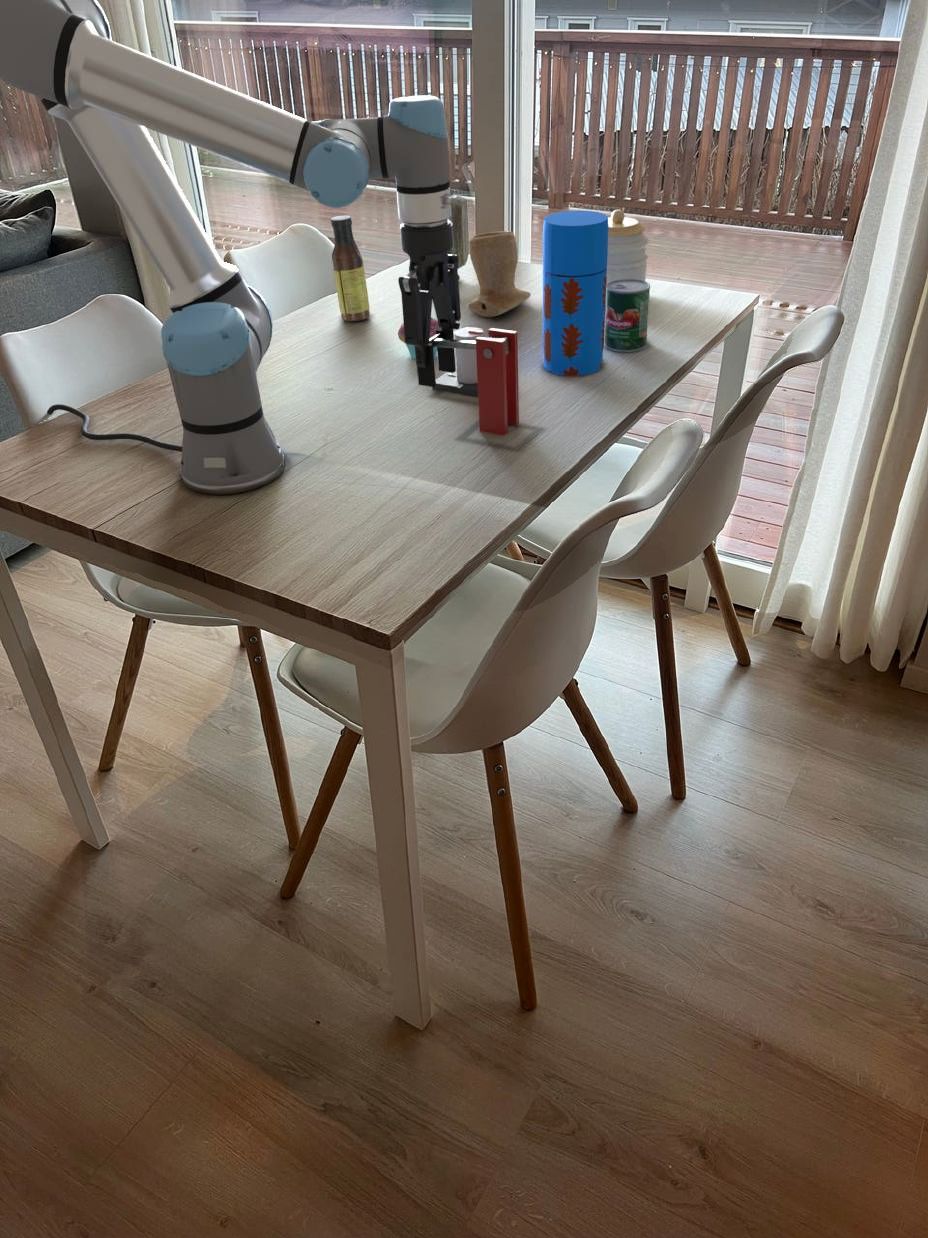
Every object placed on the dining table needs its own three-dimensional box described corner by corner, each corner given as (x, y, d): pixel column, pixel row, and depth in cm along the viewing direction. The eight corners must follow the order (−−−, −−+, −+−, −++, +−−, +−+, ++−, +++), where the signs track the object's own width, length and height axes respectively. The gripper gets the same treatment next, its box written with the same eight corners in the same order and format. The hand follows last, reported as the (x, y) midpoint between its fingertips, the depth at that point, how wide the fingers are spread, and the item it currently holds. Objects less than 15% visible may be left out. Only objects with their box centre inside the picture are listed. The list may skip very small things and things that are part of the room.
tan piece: (489, 294, 203) (487, 221, 195) (537, 300, 198) (537, 226, 189) (452, 314, 193) (448, 239, 184) (502, 322, 188) (500, 245, 179)
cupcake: (454, 354, 175) (451, 289, 168) (423, 367, 170) (417, 301, 163) (422, 344, 180) (417, 281, 173) (390, 357, 175) (384, 293, 168)
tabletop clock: (432, 272, 219) (424, 155, 204) (470, 271, 218) (465, 154, 203) (424, 291, 207) (415, 169, 192) (464, 290, 206) (458, 167, 191)
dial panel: (431, 397, 159) (430, 382, 157) (456, 378, 165) (455, 364, 163) (488, 407, 154) (487, 392, 152) (512, 387, 160) (511, 372, 159)
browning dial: (452, 381, 157) (449, 333, 152) (465, 371, 161) (463, 323, 156) (477, 385, 155) (474, 336, 150) (490, 375, 159) (488, 327, 154)
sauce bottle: (376, 315, 195) (365, 215, 184) (358, 324, 191) (346, 222, 180) (352, 311, 198) (340, 212, 187) (333, 320, 194) (320, 219, 183)
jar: (649, 306, 191) (655, 215, 181) (586, 309, 192) (588, 219, 181) (640, 287, 202) (645, 200, 191) (580, 290, 202) (582, 203, 192)
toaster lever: (421, 355, 141) (419, 340, 140) (439, 343, 145) (437, 328, 144) (497, 361, 135) (496, 345, 134) (514, 349, 139) (513, 333, 138)
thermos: (600, 377, 162) (606, 226, 147) (539, 375, 164) (539, 226, 149) (605, 354, 171) (611, 209, 156) (547, 353, 173) (547, 210, 158)
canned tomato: (645, 337, 177) (649, 278, 171) (647, 351, 171) (651, 291, 164) (603, 337, 178) (605, 279, 171) (604, 352, 172) (606, 292, 165)
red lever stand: (459, 439, 145) (453, 339, 135) (483, 419, 150) (479, 322, 141) (517, 450, 141) (515, 348, 131) (539, 429, 146) (539, 330, 137)
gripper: (414, 239, 124) (427, 403, 137) (479, 207, 137) (486, 360, 150) (367, 235, 127) (385, 396, 140) (435, 204, 140) (445, 354, 153)
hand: (437, 377), depth 145 cm, fingers closed on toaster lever, 5 cm apart
